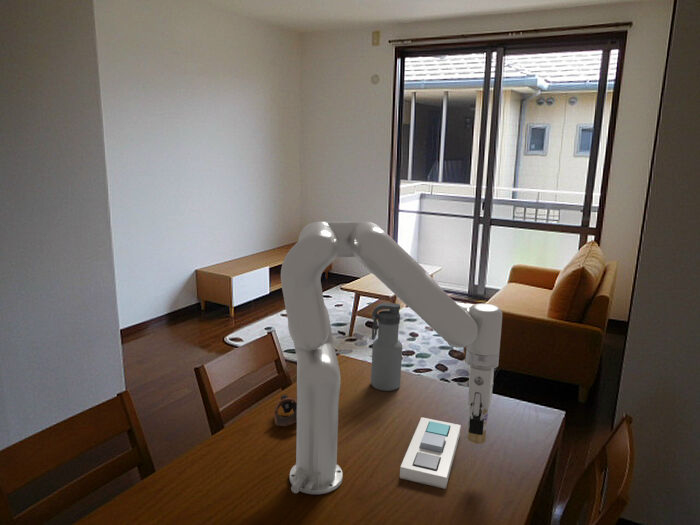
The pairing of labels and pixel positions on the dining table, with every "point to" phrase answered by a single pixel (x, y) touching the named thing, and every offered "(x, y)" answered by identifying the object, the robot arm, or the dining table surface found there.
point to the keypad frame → (446, 457)
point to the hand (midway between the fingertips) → (476, 427)
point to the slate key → (433, 442)
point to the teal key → (438, 428)
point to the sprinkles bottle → (482, 438)
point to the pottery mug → (286, 411)
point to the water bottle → (386, 348)
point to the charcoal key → (427, 461)
